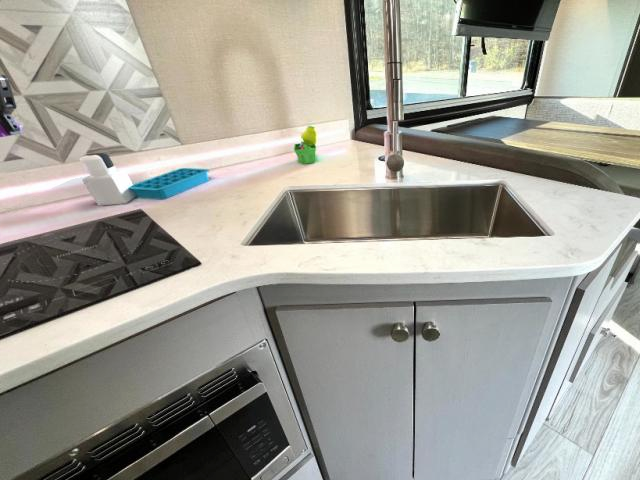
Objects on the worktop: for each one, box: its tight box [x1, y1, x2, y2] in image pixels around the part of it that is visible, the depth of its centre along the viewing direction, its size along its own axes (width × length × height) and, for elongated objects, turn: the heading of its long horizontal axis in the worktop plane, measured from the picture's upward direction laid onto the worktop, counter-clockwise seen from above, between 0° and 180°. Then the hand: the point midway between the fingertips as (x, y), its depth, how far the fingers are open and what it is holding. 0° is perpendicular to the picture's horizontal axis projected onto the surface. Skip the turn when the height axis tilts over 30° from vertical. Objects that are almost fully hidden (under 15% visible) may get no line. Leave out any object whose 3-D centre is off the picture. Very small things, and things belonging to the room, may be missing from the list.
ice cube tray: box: [128, 167, 210, 200], centre depth 94 cm, size 12×20×3 cm, turn 165°
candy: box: [0, 120, 25, 138], centre depth 65 cm, size 3×7×2 cm, turn 0°
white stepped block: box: [79, 152, 137, 207], centre depth 84 cm, size 7×7×12 cm
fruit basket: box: [293, 125, 318, 165], centre depth 114 cm, size 11×9×11 cm
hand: (6, 134), depth 66 cm, fingers closed on candy, 3 cm apart
